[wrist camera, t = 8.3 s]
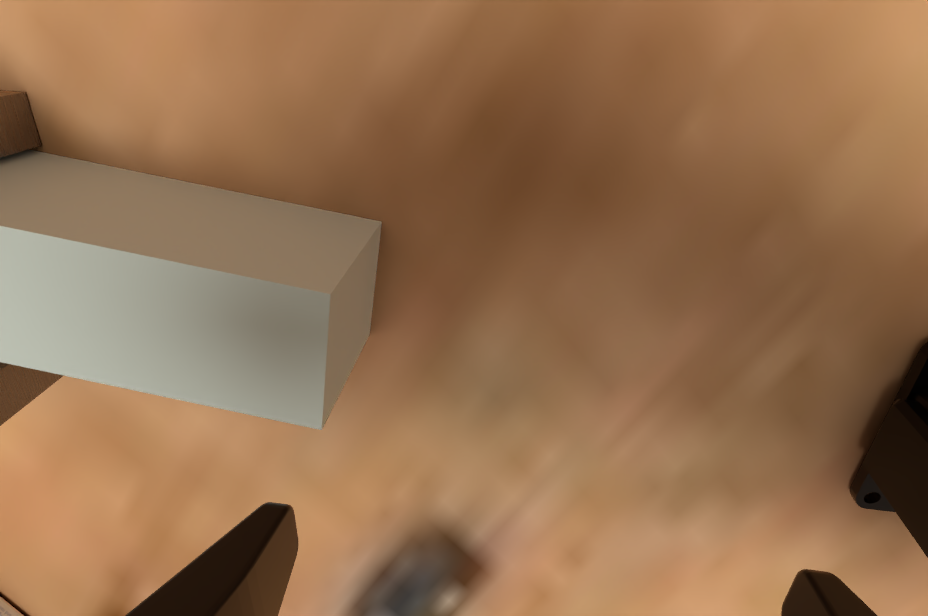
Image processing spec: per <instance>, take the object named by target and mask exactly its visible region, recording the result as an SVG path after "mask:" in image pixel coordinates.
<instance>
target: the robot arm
mask: <svg viewBox="0 0 928 616" xmlns="http://www.w3.org/2000/svg"><path fill="white" fill-rule="evenodd" d="M871 492H872V493H871ZM850 493H851V495H852V497H853V499H854V500H855V502H856V503H857V505H859V506H860V507H862V508H866V509H874V510H883V511H891V512H896V513H897V514H898V516H899V517H900V519H901V520H902V522H903V523H904V524H905V526H906V527H907V529H908V530H909V532H910V533H911V534H912V536H913V537H914V539H915V540H916V542H917V543H918V544H919V546H920V547H921V549H922V550H923V552H924V553H925V555H926V556H927V557H928V342H927V343H926V344H924V345H923V347H922V348H921V349H920V351H919V353H918V355H917V357H916V359H915V361H914V363H913V365H912V367H911V369H910V371H909V373H908V375H907V377H906V379H905V381H904V383H903V385H902V386H901V388H900V390H899V392H898V394H897V396H896V398H895V400H894V402H893V404H892V406H891V408H890V410H889V412H888V414H887V416H886V418H885V420H884V422H883V424H882V426H881V428H880V430H879V431H878V433H877V435H876V437H875V439H874V441H873V443H872V445H871V447H870V449H869V451H868V453H867V455H866V457H865V459H864V461H863V464H862V466H861V468H860V470H859V472H858V474H857V476H856V478H855V480H854V482H853V484H852V486H851V488H850ZM868 493H869V494H868ZM297 551H298V535H297V528H296V522H295V515H294V510H293V508H292V507H291V506H290V505H288V504H280V503H272V502H268V503H265V504H263V505H261V506H260V507H259V508H257V509H256V510H255V511H254V512H253V513H251V514H250V515H249V516H248V517H246V518H245V519H244V520H243V521H241V522H240V523H239V524H238V525H237V526H235V527H234V528H233V529H232V530H230V531H229V532H228V533H227V534H225V535H224V536H223V537H222V538H220V539H219V540H218V541H217V542H216V543H214V544H213V545H212V546H211V547H209V548H208V549H207V550H206V551H204V552H203V553H202V554H201V555H200V556H198V557H197V558H196V559H195V560H193V561H192V562H191V563H190V564H188V565H187V566H186V567H185V568H183V569H182V570H181V571H180V572H179V573H177V574H176V575H175V576H174V577H172V578H171V579H170V580H169V581H167V582H166V583H165V584H164V585H163V586H161V587H160V588H159V589H158V590H156V591H155V592H154V593H153V594H151V595H150V596H149V597H148V598H146V599H145V600H144V601H143V602H142V603H140V604H139V605H138V606H137V607H135V608H134V609H133V610H132V611H130V612H129V613H128V614H127V615H126V616H278V613H279V610H280V607H281V604H282V601H283V597H284V594H285V591H286V588H287V585H288V582H289V578H290V575H291V572H292V569H293V566H294V562H295V559H296V556H297ZM781 615H782V616H877V615H876V614H875V613H874V612H873V611H872V610H871V609H870V608H869V607H868V606H867V605H866V604H865V603H864V602H863V601H862V600H861V599H860V598H859V597H858V596H857V595H855V594H854V593H853V592H852V591H851V590H850V589H849V588H848V587H847V586H846V585H845V584H844V583H843V582H842V581H841V580H840V579H839V578H838V577H836V576H835V575H833V574H831V573H829V572H824V571H816V570H808V569H803V570H801V571H799V572H798V573H797V575H796V577H795V579H794V581H793V583H792V585H791V587H790V589H789V592H788V594H787V596H786V598H785V600H784V602H783V605H782V614H781Z"/></svg>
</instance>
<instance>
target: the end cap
mask: <svg viewBox="0 0 928 616" xmlns="http://www.w3.org/2000/svg"><path fill="white" fill-rule="evenodd" d="M38 146H41V143H40V139H39V136H38V133H37V130H36V126H35V123H34V120H33V116H32V113H31V110H30V106H29V103H28V100H27V97H26V93H25V92H16V91H1V90H0V158H1V157H4V156H8V155H11V154H14V153H18V152H21V151H25V150H28V149H31V148H35V147H38ZM62 376H64V375H59V374H54V373H50V372H45V371H40V370H35V369H31V368H26V367H21V366H17V365H12V364H7V363H2V362H0V426H1V425H2V424H3V423H4V422H6V421H7V420H8V419H9V418H11V417H12V416H13V415H14V414H16V413H17V412H18V411H19V410H21V409H22V408H23V407H25V406H26V405H27V404H28V403H30V402H31V401H32V400H33V399H35V398H36V397H37V396H38V395H40V394H41V393H42V392H43V391H45V390H46V389H47V388H48V387H50V386H51V385H52V384H53V383H55V382H56V381H57V380H59V379H60V378H61V377H62Z"/></svg>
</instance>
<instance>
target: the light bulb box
mask: <svg viewBox="0 0 928 616" xmlns="http://www.w3.org/2000/svg"><path fill="white" fill-rule="evenodd" d="M0 616H24V615H23V614H21V613H20V612H19V611H18V610H16V609H15V608H14V607H13V606H11V605H10V604H9V603H8V602H7V601H5V600H4V599H3V598H2V597H0Z"/></svg>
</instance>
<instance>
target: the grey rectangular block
mask: <svg viewBox="0 0 928 616" xmlns="http://www.w3.org/2000/svg"><path fill="white" fill-rule="evenodd" d="M381 226H382V221H377V220H372V219H367V218H362V217H357V216H352V215H348V214H343V213H338V212H333V211H328V210H323V209H318V208H313V207H308V206H303V205H299V204H294V203H289V202H284V201H279V200H274V199H269V198H264V197H259V196H255V195H250V194H245V193H240V192H235V191H230V190H225V189H220V188H215V187H211V186H206V185H201V184H196V183H191V182H186V181H181V180H176V179H171V178H167V177H162V176H157V175H152V174H147V173H142V172H137V171H132V170H127V169H122V168H118V167H113V166H108V165H103V164H98V163H93V162H88V161H83V160H78V159H74V158H69V157H64V156H59V155H54V154H49V153H44V152H39V151H34V150H30V149H28V150H25V151H21V152H18V153H14V154H11V155H8V156H4V157H1V158H0V362H2V363H7V364H12V365H17V366H21V367H26V368H31V369H35V370H40V371H45V372H50V373H54V374H59V375H64V376H69V377H73V378H78V379H83V380H87V381H92V382H97V383H102V384H106V385H111V386H116V387H121V388H125V389H130V390H135V391H139V392H144V393H149V394H154V395H158V396H163V397H168V398H173V399H177V400H182V401H187V402H191V403H196V404H201V405H206V406H210V407H215V408H220V409H225V410H229V411H234V412H239V413H243V414H248V415H253V416H258V417H262V418H267V419H272V420H277V421H281V422H286V423H291V424H295V425H300V426H305V427H310V428H314V429H319V430H322V428H323V426H324V424H325V422H326V420H327V418H328V417H329V415H330V413H331V411H332V409H333V407H334V405H335V403H336V401H337V399H338V397H339V395H340V393H341V391H342V389H343V387H344V385H345V383H346V381H347V379H348V377H349V375H350V373H351V371H352V369H353V367H354V365H355V363H356V361H357V359H358V357H359V355H360V353H361V351H362V349H363V347H364V345H365V343H366V341H367V339H368V337H369V335H370V328H371V319H372V310H373V300H374V291H375V282H376V272H377V263H378V254H379V244H380V235H381Z"/></svg>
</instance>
